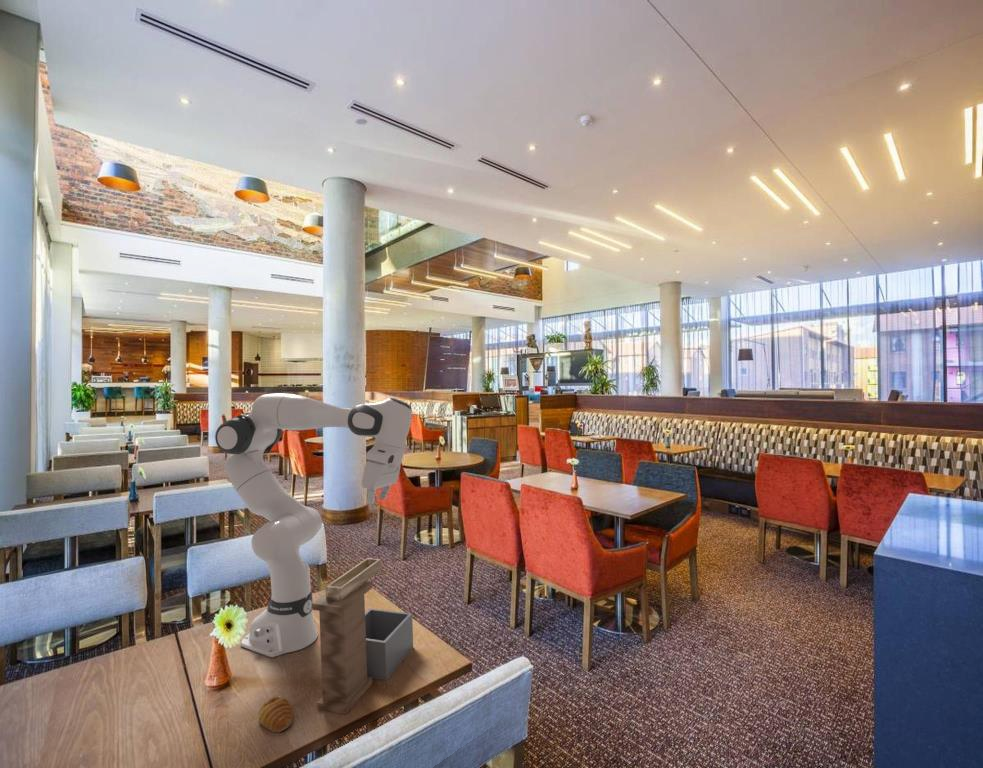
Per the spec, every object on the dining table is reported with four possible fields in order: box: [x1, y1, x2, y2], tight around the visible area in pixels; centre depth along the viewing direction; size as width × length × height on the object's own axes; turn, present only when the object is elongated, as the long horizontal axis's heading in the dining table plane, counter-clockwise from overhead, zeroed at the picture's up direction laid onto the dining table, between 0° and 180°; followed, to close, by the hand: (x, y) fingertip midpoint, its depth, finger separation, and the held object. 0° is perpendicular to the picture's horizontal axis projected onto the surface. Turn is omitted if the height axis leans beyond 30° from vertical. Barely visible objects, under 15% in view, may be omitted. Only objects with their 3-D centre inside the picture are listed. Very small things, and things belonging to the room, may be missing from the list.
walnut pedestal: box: [312, 581, 373, 715], centre depth 122 cm, size 8×14×26 cm, turn 163°
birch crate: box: [325, 557, 382, 601], centre depth 127 cm, size 4×19×3 cm, turn 163°
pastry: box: [258, 696, 294, 733], centre depth 113 cm, size 9×7×4 cm
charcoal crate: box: [365, 608, 414, 681], centre depth 136 cm, size 14×16×10 cm
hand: (376, 501), depth 139 cm, fingers open, 8 cm apart
